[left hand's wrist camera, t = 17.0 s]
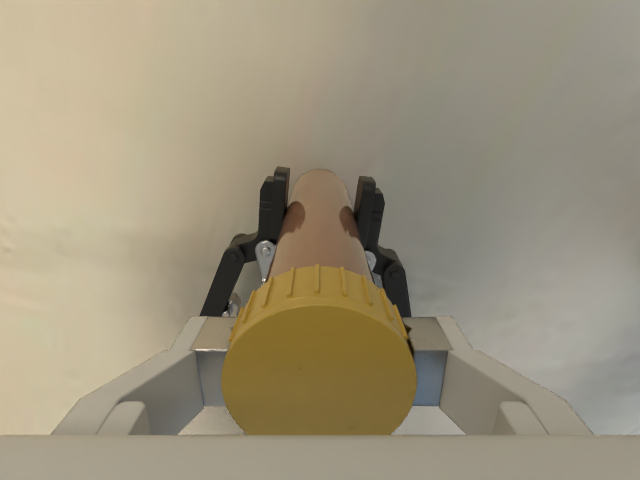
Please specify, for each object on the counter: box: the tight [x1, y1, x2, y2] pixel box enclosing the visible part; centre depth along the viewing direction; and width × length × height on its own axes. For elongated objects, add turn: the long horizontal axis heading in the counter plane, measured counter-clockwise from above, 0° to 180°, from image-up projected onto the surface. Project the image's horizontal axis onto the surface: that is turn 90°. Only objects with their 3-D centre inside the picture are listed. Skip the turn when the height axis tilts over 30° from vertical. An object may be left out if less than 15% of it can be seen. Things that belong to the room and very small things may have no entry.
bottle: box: [264, 170, 375, 284], centre depth 18 cm, size 4×4×18 cm
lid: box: [221, 264, 417, 435], centre depth 10 cm, size 5×5×2 cm
